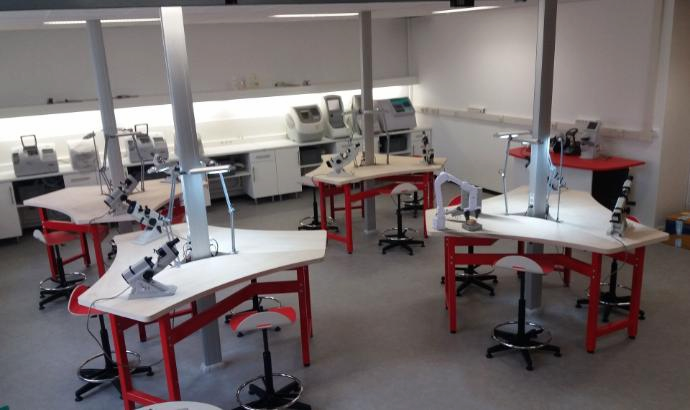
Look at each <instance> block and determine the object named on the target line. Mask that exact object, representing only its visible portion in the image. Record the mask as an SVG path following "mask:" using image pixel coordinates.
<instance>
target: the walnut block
mask: <svg viewBox="0 0 690 410" xmlns="http://www.w3.org/2000/svg"><path fill="white" fill-rule="evenodd" d="M477 221H478V219H476V218H475V219H474V218H470V219H469V220H467V222H466V223H467V225H468V226H475V225H477V223H478V222H477Z"/></svg>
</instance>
